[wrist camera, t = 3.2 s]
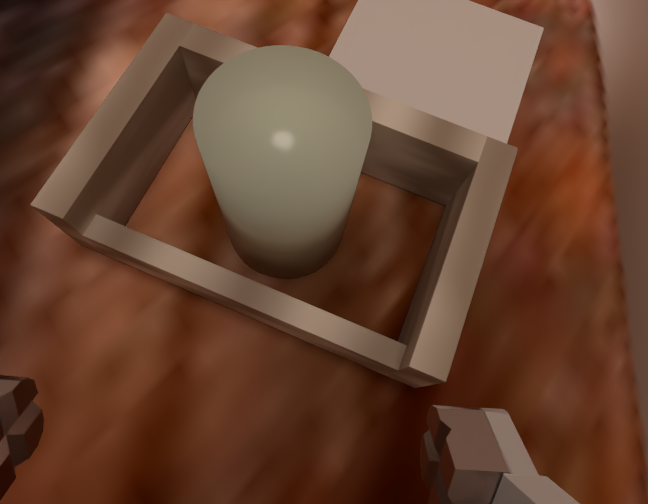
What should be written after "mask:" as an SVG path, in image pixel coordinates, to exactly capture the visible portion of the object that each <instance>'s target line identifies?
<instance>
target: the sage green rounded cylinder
mask: <svg viewBox="0 0 648 504" xmlns="http://www.w3.org/2000/svg"><path fill="white" fill-rule="evenodd" d="M193 128H194V135H195V138H196V141H197V145H198V147H199V150H200V153H201V156H202V159H203V162H204V165H205V167H206V170H207V173H208V176H209V179H210V182H211V184H212V187H213V190H214V193H215V196H216V199H217V201H218V204H219V207H220V210H221V213H222V216H223V219H224V221H225V224H226V227H227V230H228V233H229V236H230V238H231V241H232V244H233V246H234V248H235V250H236V252H237V253H238V255H239V256H240V258H241V259H242V260H243V261H244V262H245V263H246V264H247V265H248V266H250V267H251V268H253V269H254V270H255V271H257V272H259V273H261V274H264V275H267V276H270V277H274V278H282V279H291V278H298V277H303V276H306V275H309V274H311V273H313V272H315V271H317V270H318V269H320V268H322V267H323V266H324V265H325V264H326V263H327V262H328V261H329V260H330V259H331V258H332V257H333V255H334V254H335V253H336V251H337V249H338V247H339V245H340V242H341V239H342V236H343V232H344V229H345V225H346V222H347V218H348V215H349V211H350V208H351V205H352V201H353V198H354V194H355V191H356V187H357V184H358V180H359V177H360V173H361V170H362V166H363V163H364V159H365V156H366V152H367V149H368V145H369V142H370V138H371V132H372V113H371V108H370V104H369V101H368V98H367V96H366V94H365V92H364V90H363V88H362V87H361V85H360V83H359V82H358V81H357V80H356V78H355V77H354V76H353V75H352V74H351V73H350V72H349V71H348V70H347V69H346V68H345V67H343V66H342V65H341V64H339V63H338V62H337V61H335V60H333V59H332V58H330V57H328V56H326V55H324V54H321V53H319V52H316V51H313V50H310V49H307V48H302V47H297V46H287V45H275V46H265V47H260V48H256V49H252V50H249V51H246V52H243V53H241V54H239V55H237V56H234V57H233V58H231V59H229V60H228V61H226V62H225V63H223V64H222V65H221V66H220V67H218V68H217V69H216V70H215V71H214V72H213V73H212V74H211V75H210V76H209V77H208V79H207V80H206V82H205V83H204V84H203V86H202V88H201V90H200V92H199V93H198V96H197V99H196V102H195V106H194V111H193Z"/></svg>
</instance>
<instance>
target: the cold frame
mask: <svg viewBox="0 0 648 504" xmlns="http://www.w3.org/2000/svg"><path fill="white" fill-rule="evenodd" d="M256 48H257V47H254V46H252V45H249V44H247V43H244V42H241V41H239V40H236V39H234V38H231V37H228V36H226V35H223V34H221V33H218V32H215V31H213V30H210V29H208V28H205V27H202V26H200V25H197V24H195V23H192V22H189V21H187V20H184V19H182V18H179V17H176V16H174V15H171V14H169V13H166V14H165V16H164V17H163V18H162V20H161V21H160V23H159V24H158V25H157V27H156V28H155V30H154V31H153V32H152V34H151V35H150V37H149V38H148V40H147V41H146V42H145V44H144V45H143V47H142V48H141V49H140V51H139V52H138V54H137V55H136V56H135V58H134V59H133V61H132V62H131V63H130V65H129V66H128V68H127V69H126V71H125V72H124V73H123V75H122V76H121V78H120V79H119V80H118V82H117V83H116V85H115V86H114V87H113V89H112V90H111V92H110V93H109V94H108V96H107V97H106V99H105V100H104V102H103V103H102V104H101V106H100V107H99V109H98V110H97V111H96V113H95V114H94V116H93V117H92V118H91V120H90V121H89V123H88V124H87V126H86V127H85V128H84V130H83V131H82V133H81V134H80V135H79V137H78V138H77V140H76V141H75V142H74V144H73V145H72V147H71V148H70V149H69V151H68V152H67V154H66V155H65V157H64V158H63V159H62V161H61V162H60V164H59V165H58V166H57V168H56V169H55V171H54V172H53V173H52V175H51V176H50V178H49V179H48V180H47V182H46V183H45V185H44V186H43V188H42V189H41V190H40V192H39V193H38V195H37V196H36V197H35V199H34V200H33V202H32V203H31V204H30V205H31V206H32V207H34V208H35V209H36V210H37V211H39V212H40V213H41V214H42V215H44V216H45V217H46V218H47V219H49V220H50V221H51V222H52V223H54V224H55V225H56V226H57V227H59V228H60V229H61V230H63V231H64V232H65V233H66V234H68V235H69V236H70V237H71V238H73V239H74V240H75V241H76V242H78V243H79V244H80V245H83V246H85V247H87V248H90V249H92V250H94V251H97V252H99V253H101V254H104V255H106V256H108V257H111V258H113V259H115V260H118V261H120V262H122V263H125V264H127V265H129V266H132V267H134V268H136V269H139V270H141V271H143V272H146V273H148V274H150V275H153V276H155V277H157V278H160V279H162V280H164V281H167V282H169V283H171V284H174V285H176V286H178V287H180V288H183V289H185V290H187V291H190V292H192V293H194V294H197V295H199V296H201V297H204V298H206V299H208V300H211V301H213V302H215V303H218V304H220V305H222V306H225V307H227V308H229V309H232V310H234V311H236V312H239V313H241V314H243V315H246V316H248V317H250V318H253V319H255V320H257V321H260V322H262V323H264V324H267V325H269V326H271V327H274V328H276V329H278V330H281V331H283V332H285V333H288V334H290V335H292V336H295V337H297V338H299V339H302V340H304V341H306V342H309V343H311V344H313V345H316V346H318V347H320V348H323V349H325V350H327V351H330V352H332V353H334V354H337V355H339V356H341V357H344V358H346V359H348V360H351V361H353V362H355V363H358V364H360V365H362V366H365V367H367V368H369V369H372V370H374V371H376V372H379V373H381V374H383V375H386V376H388V377H390V378H392V379H395V380H397V381H399V382H402V383H404V384H406V385H409V386H411V387H413V388H418V387H423V386H428V385H433V384H438V383H443V382H446V380H447V377H448V373H449V370H450V367H451V364H452V361H453V357H454V354H455V351H456V348H457V344H458V341H459V338H460V335H461V331H462V328H463V325H464V322H465V318H466V315H467V312H468V309H469V306H470V302H471V299H472V296H473V293H474V289H475V286H476V283H477V280H478V276H479V273H480V270H481V267H482V263H483V260H484V257H485V254H486V251H487V247H488V244H489V241H490V238H491V234H492V231H493V228H494V225H495V221H496V218H497V215H498V212H499V208H500V205H501V202H502V199H503V195H504V192H505V189H506V186H507V183H508V179H509V176H510V173H511V170H512V166H513V163H514V160H515V157H516V153H517V150H518V148H516V147H514V146H511V145H509V144H506V143H503V142H501V141H498V140H496V139H493V138H490V137H488V136H485V135H483V134H480V133H477V132H475V131H472V130H470V129H467V128H465V127H462V126H459V125H457V124H454V123H452V122H449V121H446V120H444V119H441V118H439V117H436V116H433V115H431V114H428V113H426V112H423V111H420V110H418V109H415V108H413V107H410V106H407V105H405V104H402V103H400V102H397V101H394V100H392V99H389V98H387V97H384V96H381V95H379V94H376V93H374V92H371V91H369V90H366V89H363V90H364V92H365V94H366V96H367V98H368V101H369V104H370V108H371V113H372V132H371V138H370V142H369V145H368V149H367V152H366V156H365V159H364V163H363V166H362V170H361V172H362V173H364V174H367V175H369V176H372V177H374V178H377V179H379V180H382V181H384V182H387V183H389V184H392V185H394V186H397V187H399V188H402V189H405V190H407V191H410V192H412V193H415V194H417V195H420V196H422V197H425V198H427V199H430V200H432V201H435V202H437V203H440V204H442V205H445V206H446V207H445V210H444V212H443V215H442V218H441V221H440V224H439V227H438V229H437V232H436V235H435V238H434V241H433V243H432V246H431V249H430V252H429V255H428V258H427V260H426V263H425V266H424V269H423V272H422V274H421V277H420V280H419V283H418V286H417V288H416V291H415V294H414V297H413V300H412V303H411V305H410V308H409V311H408V314H407V317H406V319H405V322H404V325H403V328H402V331H401V334H400V336H399V339H398V342H397V341H395V340H393V339H390V338H388V337H385V336H383V335H381V334H378V333H376V332H374V331H371V330H369V329H367V328H364V327H362V326H359V325H357V324H355V323H352V322H350V321H348V320H345V319H343V318H341V317H338V316H336V315H333V314H331V313H329V312H326V311H324V310H322V309H319V308H317V307H315V306H312V305H310V304H307V303H305V302H303V301H300V300H298V299H296V298H293V297H291V296H289V295H286V294H284V293H281V292H279V291H277V290H274V289H272V288H270V287H267V286H265V285H263V284H260V283H258V282H255V281H253V280H251V279H248V278H246V277H244V276H241V275H239V274H237V273H234V272H232V271H229V270H227V269H225V268H222V267H220V266H218V265H215V264H213V263H211V262H208V261H206V260H203V259H201V258H199V257H196V256H194V255H192V254H189V253H187V252H185V251H182V250H180V249H177V248H175V247H173V246H170V245H168V244H166V243H163V242H161V241H159V240H156V239H154V238H151V237H149V236H147V235H144V234H142V233H140V232H137V231H135V230H133V229H130V228H128V227H125V225H126V223H127V222H128V220H129V218H130V217H131V215H132V214H133V212H134V210H135V209H136V207H137V206H138V204H139V202H140V201H141V199H142V197H143V196H144V194H145V193H146V191H147V189H148V188H149V186H150V184H151V183H152V181H153V180H154V178H155V176H156V175H157V173H158V172H159V170H160V168H161V167H162V165H163V163H164V162H165V160H166V159H167V157H168V155H169V154H170V152H171V150H172V149H173V147H174V146H175V144H176V142H177V141H178V139H179V138H180V136H181V134H182V133H183V131H184V129H185V128H186V126H187V125H188V123H189V121H190V120H191V118H192V117H193V111H194V106H195V102H196V99H197V96H198V93H199V92H200V90H201V88H202V86H203V84H204V83H205V82H206V80H207V79H208V77H209V76H210V75H211V74H212V73H213V72H214V71H215V70H216V69H217V68H218V67H220V66H221V65H222V64H223V63H225V62H226V61H228V60H229V59H231V58H233V57H234V56H237V55H239V54H241V53H243V52H246V51H249V50H252V49H256Z"/></svg>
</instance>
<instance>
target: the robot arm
mask: <svg viewBox="0 0 648 504" xmlns="http://www.w3.org/2000/svg"><path fill="white" fill-rule="evenodd" d="M37 394H38V391H37V388H36V384H35V381H34V380H32V379H30V378H26V377H15V376H4V375H0V500H1V499H2V497H3V496H4V494H5V493H6V492H7V490H8V489H9V487H10V486H11V484H12V483H13V481H14V480H15V479H16V474H15V467H16V466H18V465H19V464H21V463H22V462H24V461H26V460H27V459H29V458H30V457H31V455H32V454H33V452H34V451H35V449H36V447H37V446H38V444H39V441H40V438H41V435H42V432H43V423H44V418H43V413H42V409H40V408H39V407H38V406H37V405H36V404H35V403H34V402H33V401H32V400H33V399H34V397H35V396H36V395H37ZM427 421H428V425H429V428H430V430H429V431H427V432H426V433H425V434H424V435H423V438H422V443H421V449H420V464H421V473H422V477H423V482H424V483H425V484H426V485H427V486H428V488H429V489H430V490H431V493H430V497H429V501H428V504H579V503H578V502H577V501H576V500H575V499H573V498H572V497H571V496H570V495H569V494H567V493H566V492H565V491H564V490H563V489H561V488H560V487H559V486H558V485H556V484H555V483H554V482H553V481H552V480H550V479H549V478H548V477H547V476H539V475H538V473H537V471H536V469H535V466H534V464H533V462H532V460H531V458H530V456H529V454H528V452H527V450H526V448H525V446H524V444H523V442H522V440H521V438H520V436H519V434H518V432H517V430H516V428H515V426H514V424H513V422H512V420H511V418H510V416H509V414H508V412H506V411H505V410H504V409H492V408H470V407H454V406H437V405H432V407H431V409H430V410H429V414H428V418H427Z"/></svg>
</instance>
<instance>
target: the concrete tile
mask: <svg viewBox="0 0 648 504" xmlns="http://www.w3.org/2000/svg"><path fill="white" fill-rule="evenodd" d="M543 29H544V28H543V27H540V26H537V25H534V24H532V23H529V22H526V21H523V20H521V19H518V18H515V17H513V16H510V15H507V14H504V13H502V12H499V11H496V10H493V9H491V8H488V7H485V6H482V5H480V4H477V3H474V2H471V1H469V0H358V2H357V4H356V6H355V8H354V9H353V11H352V13H351V15H350V17H349V19H348V21H347V23H346V25H345V27H344V29H343V31H342V32H341V34H340V36H339V38H338V40H337V42H336V44H335V46H334V48H333V50H332V52H331V54H330V56H329V57H330V58H332V59H333V60H335V61H337V62H338V63H339V64H341V65H342V66H343V67H345V68H346V69H347V70H348V71H349V72H350V73H351V74H352V75H353V76H354V77H355V78H356V80H357V81H358V82H359V83H360V85H361V87H362V88H363V89H366V90H369V91H371V92H374V93H376V94H379V95H381V96H384V97H387V98H389V99H392V100H394V101H397V102H400V103H402V104H405V105H407V106H410V107H413V108H415V109H418V110H420V111H423V112H426V113H428V114H431V115H433V116H436V117H439V118H441V119H444V120H446V121H449V122H452V123H454V124H457V125H459V126H462V127H465V128H467V129H470V130H472V131H475V132H477V133H480V134H483V135H485V136H488V137H490V138H493V139H496V140H498V141H501V142H503V143H506V144H507V141H508V138H509V135H510V132H511V129H512V126H513V123H514V120H515V117H516V113H517V110H518V107H519V104H520V101H521V98H522V95H523V92H524V88H525V85H526V82H527V79H528V76H529V73H530V70H531V67H532V63H533V60H534V57H535V54H536V51H537V48H538V45H539V42H540V38H541V35H542V32H543Z"/></svg>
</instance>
